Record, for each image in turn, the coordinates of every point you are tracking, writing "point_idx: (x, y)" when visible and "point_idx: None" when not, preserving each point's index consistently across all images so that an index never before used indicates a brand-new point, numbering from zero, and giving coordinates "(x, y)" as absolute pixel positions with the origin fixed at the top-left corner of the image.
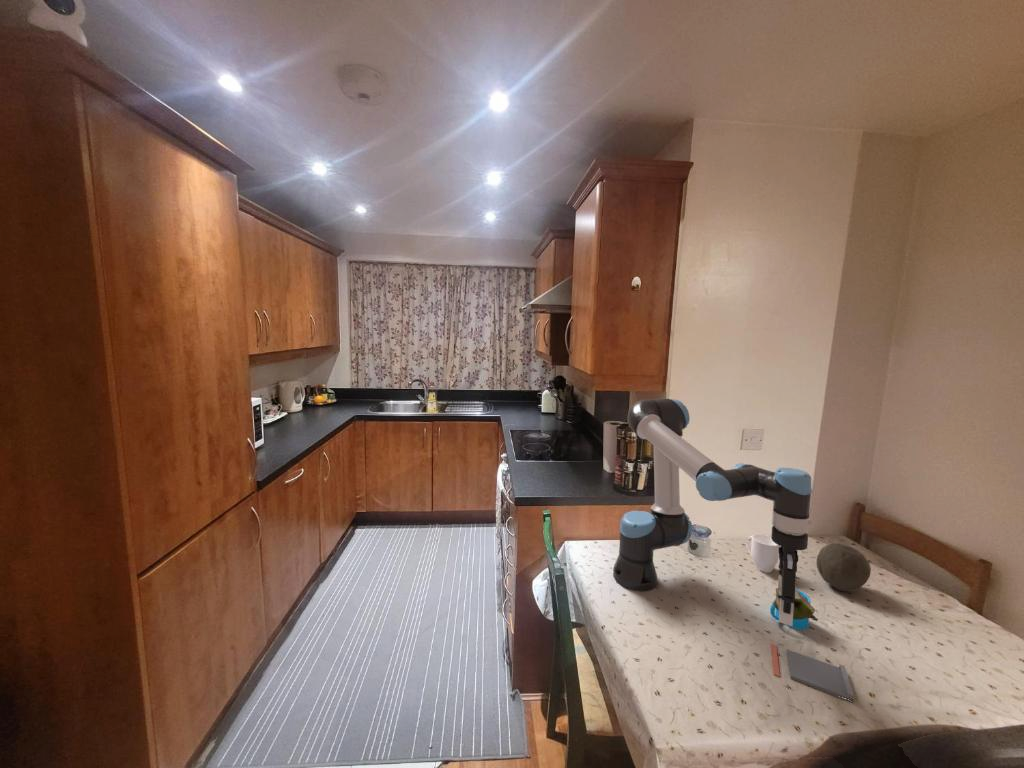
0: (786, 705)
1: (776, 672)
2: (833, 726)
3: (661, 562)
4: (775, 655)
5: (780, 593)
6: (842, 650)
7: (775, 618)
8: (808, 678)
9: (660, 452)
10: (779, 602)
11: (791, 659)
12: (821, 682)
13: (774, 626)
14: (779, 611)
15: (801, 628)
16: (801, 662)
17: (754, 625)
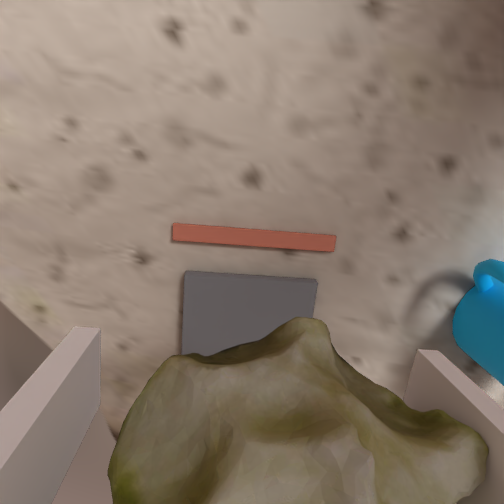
0: (52, 240)
1: (185, 232)
2: (55, 343)
3: None
4: (273, 241)
5: (275, 484)
6: None
7: (474, 271)
8: (201, 320)
9: None
10: (211, 402)
11: (268, 287)
12: (204, 350)
13: (441, 260)
14: (60, 378)
15: (456, 339)
16: (269, 313)
17: (422, 191)
